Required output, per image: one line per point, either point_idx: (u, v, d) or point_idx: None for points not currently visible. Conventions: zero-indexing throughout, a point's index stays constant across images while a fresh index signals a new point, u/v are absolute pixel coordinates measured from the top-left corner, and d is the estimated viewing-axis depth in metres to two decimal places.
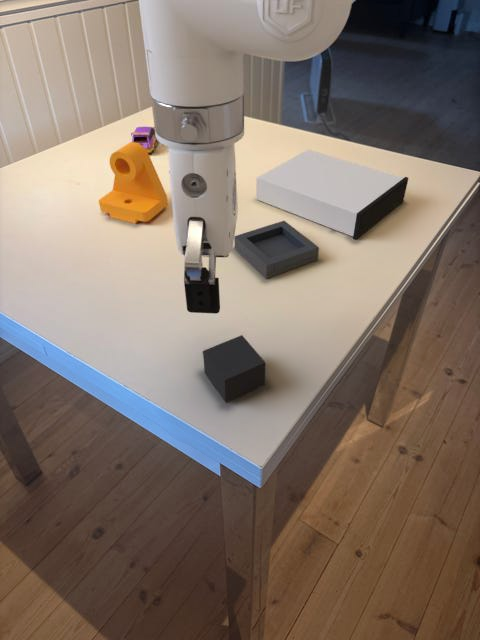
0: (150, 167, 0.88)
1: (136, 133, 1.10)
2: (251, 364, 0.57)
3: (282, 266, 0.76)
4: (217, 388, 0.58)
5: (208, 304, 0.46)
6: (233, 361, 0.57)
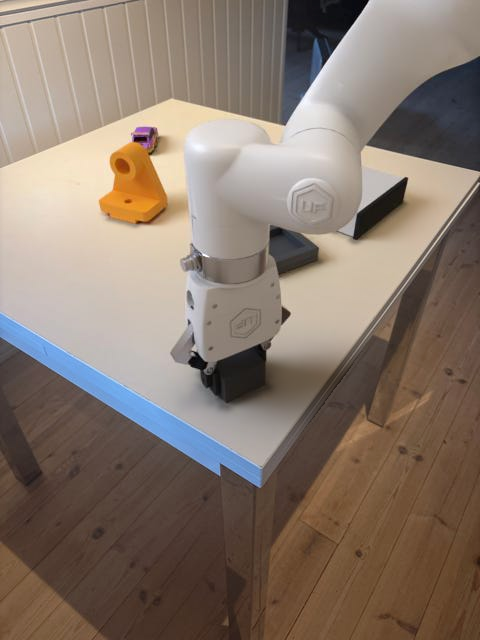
0: (150, 167, 0.88)
1: (136, 133, 1.10)
2: (251, 364, 0.57)
3: (282, 266, 0.76)
4: None
5: (206, 385, 0.57)
6: (233, 361, 0.57)
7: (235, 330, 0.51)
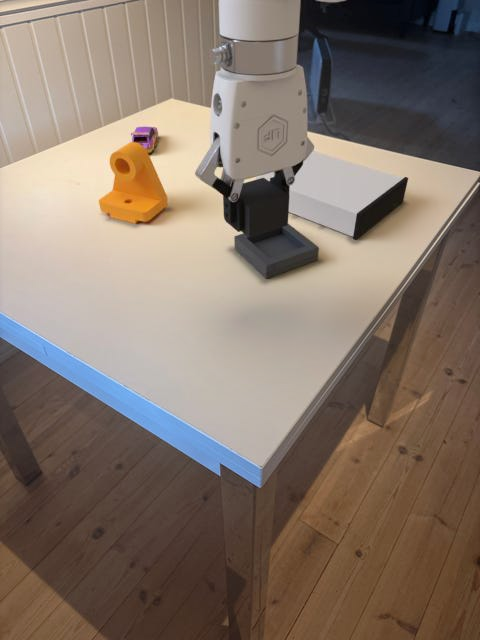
0: (150, 167, 0.88)
1: (136, 133, 1.10)
2: (275, 196, 0.56)
3: (282, 266, 0.76)
4: None
5: (230, 218, 0.56)
6: (257, 194, 0.56)
7: (262, 142, 0.50)
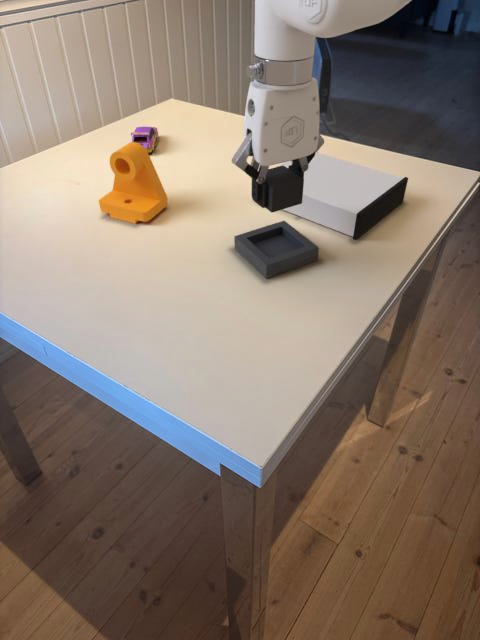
0: (150, 167, 0.88)
1: (136, 133, 1.10)
2: (292, 179, 0.71)
3: (282, 266, 0.76)
4: None
5: (256, 197, 0.71)
6: (278, 178, 0.71)
7: (284, 137, 0.65)
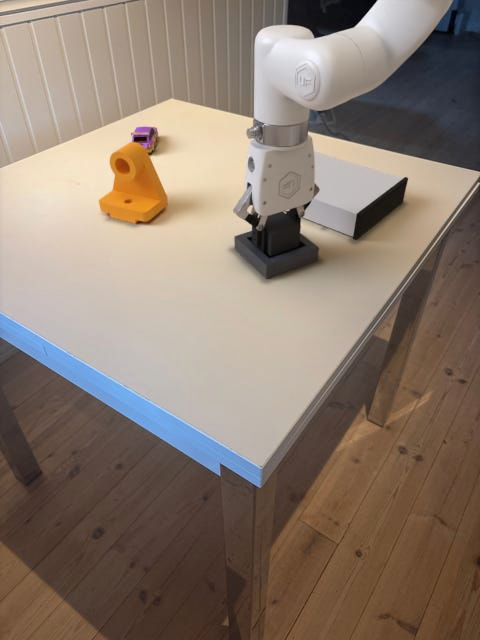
0: (150, 167, 0.88)
1: (136, 133, 1.10)
2: (290, 226, 0.76)
3: (282, 266, 0.76)
4: None
5: (256, 242, 0.76)
6: (276, 224, 0.76)
7: (282, 190, 0.70)
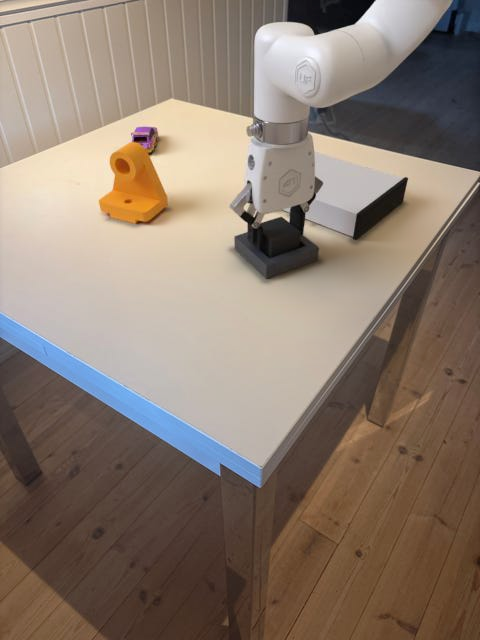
0: (150, 167, 0.88)
1: (136, 133, 1.10)
2: (290, 232, 0.77)
3: (282, 266, 0.76)
4: (264, 253, 0.78)
5: (252, 240, 0.76)
6: (276, 231, 0.77)
7: (282, 188, 0.70)
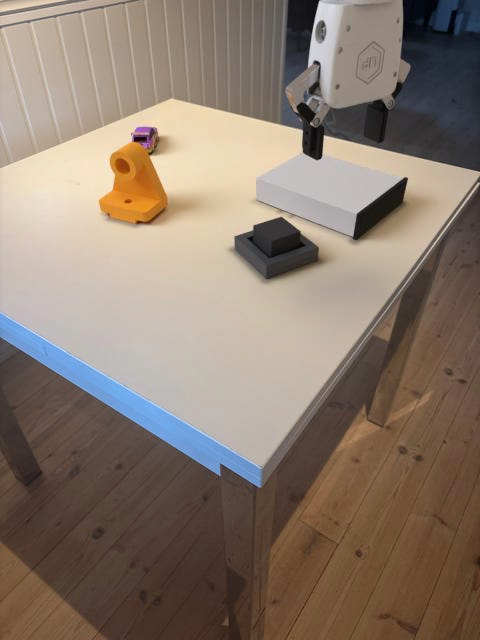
0: (150, 167, 0.88)
1: (136, 133, 1.10)
2: (290, 232, 0.77)
3: (282, 266, 0.76)
4: (264, 253, 0.78)
5: (309, 146, 0.57)
6: (276, 231, 0.77)
7: (360, 69, 0.52)
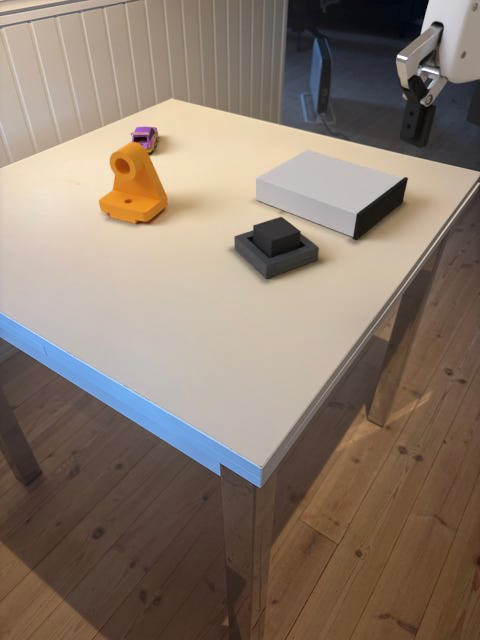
0: (150, 167, 0.88)
1: (136, 133, 1.10)
2: (290, 232, 0.77)
3: (282, 266, 0.76)
4: (264, 253, 0.78)
5: (414, 130, 0.47)
6: (276, 231, 0.77)
7: None
